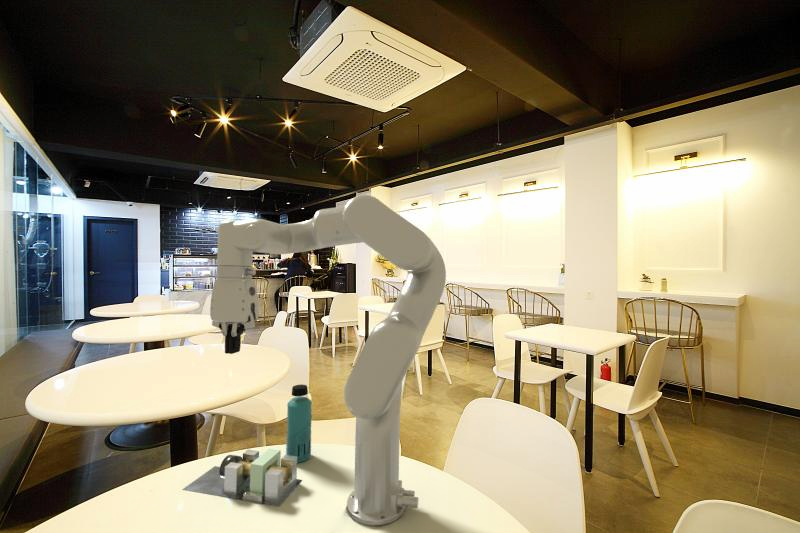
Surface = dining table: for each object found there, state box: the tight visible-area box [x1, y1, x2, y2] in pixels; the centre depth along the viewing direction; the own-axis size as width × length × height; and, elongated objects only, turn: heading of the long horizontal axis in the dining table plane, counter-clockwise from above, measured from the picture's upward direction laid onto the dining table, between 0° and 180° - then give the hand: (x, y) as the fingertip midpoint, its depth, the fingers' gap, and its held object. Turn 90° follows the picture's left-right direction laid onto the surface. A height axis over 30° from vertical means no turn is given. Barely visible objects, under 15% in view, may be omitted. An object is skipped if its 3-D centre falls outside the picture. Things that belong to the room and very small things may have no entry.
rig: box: [182, 449, 303, 508], centre depth 81 cm, size 24×10×7 cm, turn 77°
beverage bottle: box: [285, 384, 313, 464], centre depth 94 cm, size 6×7×20 cm
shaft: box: [219, 454, 289, 483], centre depth 81 cm, size 15×5×5 cm, turn 77°
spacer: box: [250, 448, 282, 496], centre depth 80 cm, size 3×7×7 cm, turn 167°
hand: (232, 352), depth 83 cm, fingers closed
